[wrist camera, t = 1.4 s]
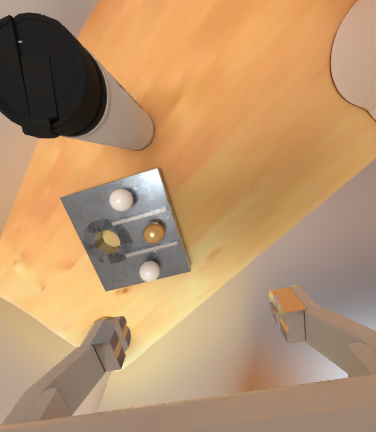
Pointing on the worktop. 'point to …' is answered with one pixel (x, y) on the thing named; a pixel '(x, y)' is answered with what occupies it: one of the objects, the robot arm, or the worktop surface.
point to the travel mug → (64, 87)
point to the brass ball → (153, 233)
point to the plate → (128, 230)
